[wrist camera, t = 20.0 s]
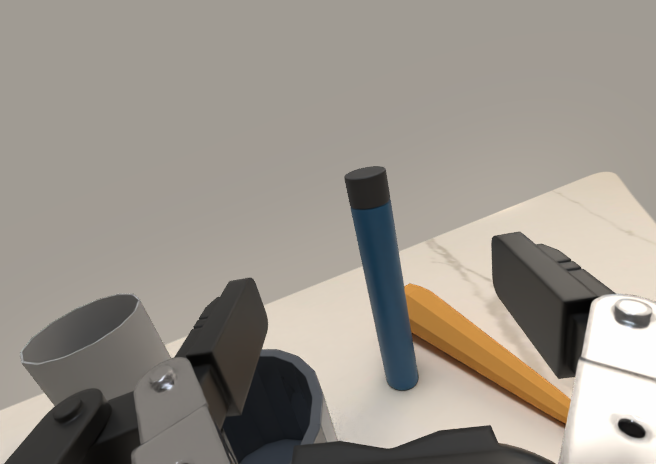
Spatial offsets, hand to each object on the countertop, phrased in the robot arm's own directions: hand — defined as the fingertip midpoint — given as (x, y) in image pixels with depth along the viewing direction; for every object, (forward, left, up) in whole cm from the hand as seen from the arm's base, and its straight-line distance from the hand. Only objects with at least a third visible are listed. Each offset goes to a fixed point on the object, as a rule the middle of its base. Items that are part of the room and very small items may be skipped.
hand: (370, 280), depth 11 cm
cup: (-24, +11, -17) cm, 31 cm away
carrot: (+7, +10, -17) cm, 21 cm away
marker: (+1, +11, -17) cm, 20 cm away
